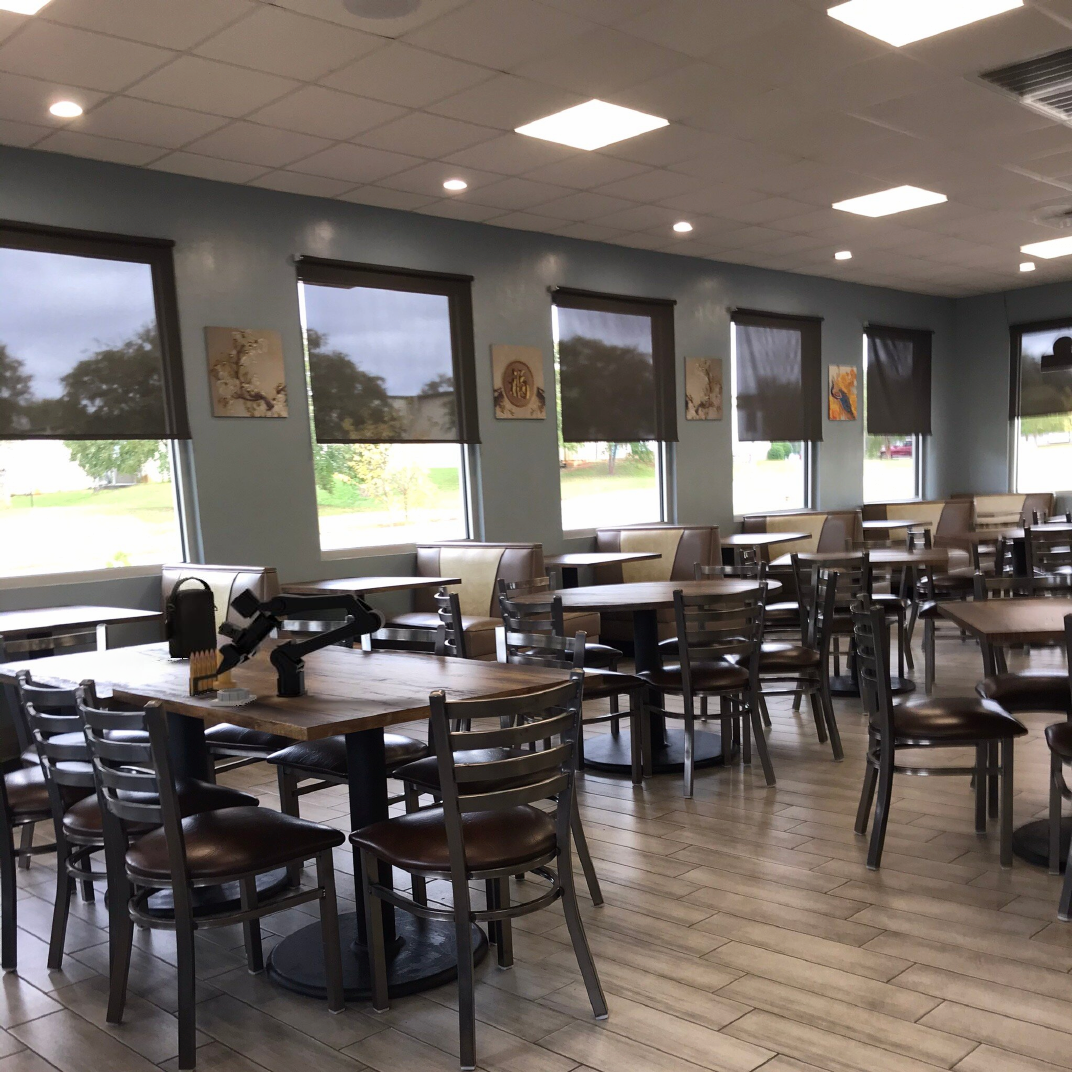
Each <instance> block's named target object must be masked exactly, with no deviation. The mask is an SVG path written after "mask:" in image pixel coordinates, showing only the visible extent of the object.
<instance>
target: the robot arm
mask: <svg viewBox="0 0 1072 1072" xmlns="http://www.w3.org/2000/svg"><path fill="white" fill-rule="evenodd" d="M229 606H230V607H231V608H232V609H233V610H234V611H235V612H236V613H237V614H238V615H240V617H242V618H243V619H244V620H247V619H248V618H249V620H252V619H253V620H252V621H251V622H250V623H249V624H248V625H247V626H245V627H242V625H241V626H240V625H239V624H235V623H233V622H230V621H228V620H224V621H222V622H221V624H220V625H219V626H218V631H217V634H218V635H219V636H224V637H227V638H229V639H232V640H230V642H229V643H228V642H227V643H225V644H223V645H222V646H220V648H218V649H219V652H220V653H221V654H222V655H223V656H224V658H223V660H222V662H221V664H220V665H219V667H218V669H217V671H216V674H217V675H220V674H222V673H224V672H226V671H228V670H230V669H231V670H232V669H233V668H236V667H238V666H240V665H242V664H244V663H246V662H248V661H250V660H251V658H250V656H251V657H252V658H254V657H256V656H257V655H258V654H259V653H260V651H261V648H260V645H261V644H263V643H264V642H265V641H266V639H267V638H268V636H269V635H270V634H271V633H272V632H273V631H274V630H275V628H276V629H277V630H278V631H282V630H283V631H284V630H285V619H279V618H282V617H285V616H289V615H293V614H296V613H301V612H306V611H317V610H318V611H320V610H333V609H335V610H337V609H345V610H346V611H348V612H349V613H350V615H351V616H352V617H353V618H354V620H353V621H351V622H349V623H346V624H344V625H341V626H339V627H336V628H334V629H330V630H329V631H326V632H324V633H321V634H318V635H316V636H313V637H311V638H308V639H306V640H302V641H297V637H293V638H291V639H289V640H288V641H282V642H280V643H278V644H277V645H275V647H276V648H274V649H272V650H271V652H270V655H269V661H270V664H271V665H272V666H273V667H275V670H276V672H277V678H276V690H277V693H276V697H300V696H302V695H305V694H307V693H308V690H306V684H305V683H306V682H305V680H306V679H305V670H304V668H305V665H306V661H305V660H304V659H303V657H305V656H306V655H309V654H311V653H315V652H317V651H319V650H321V649H324V648H327V647H330V646H332V645H334V644H337V643H340V642H342V641H344V640H348V639H349V638H352V637H358V636H359V637H360V636H365V635H371V634H374V633H377V632H378V631H380V630H382V629H383V627H384V626H385V624H386V617H385V615H384V613H383V612H382V611H381V610H379V609H374V608H373V607H372V606H370V605H369V604H368V603H366V602H365V601H364V600H362V599H361V598H360V597H359V596H357V594H356V593H353V592H348V593H339V594H324V595H311V596H309V595H308V596H306V595H304V596H303V595H297V594H289V593H280V594H278V595H275V596H272V598H271V599H269V600H268V599H265V600H262V599H260V597H258V595H256V594H255V593H254V591H253V590H252V589H251V588H249V587H247V588H245V589H244V590H243V591H242V592H241V593H239V595H238V596H235V598H234V599H233V600H232V601H231V602H230V603H229ZM231 642H232V643H231ZM306 692H307V693H306Z"/></svg>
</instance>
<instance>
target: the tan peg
mask: <svg viewBox="0 0 1072 1072" xmlns="http://www.w3.org/2000/svg"><path fill="white" fill-rule="evenodd" d="M219 649H220V648H217V669H218V667H219V665H220V664H221V662H222V660H223V658H224V656H223V655H222V654H221V653H220V652H219ZM232 674H233V673H232V669H230V670H228V671H226V672H224V673H222V674H220V675H218V681H217V682H214V683H213V689H214V690H223V689H229V688H239V687H238V681H237V680H235V679H233V677H232V676H233V675H232Z"/></svg>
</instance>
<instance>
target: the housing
mask: <svg viewBox="0 0 1072 1072" xmlns="http://www.w3.org/2000/svg"><path fill="white" fill-rule="evenodd" d="M216 694H217V697H216V698H215V699H213V700H210V701H209V702H210V703H209V705H210V707H240V706H239V705H242V706H244V705H246V704H245V703H247V704H249V703H251V702H250V701H252V700H254V699H256V700H257V695H256V694H250V688H248V687H237V688H229V689H223V690H219V691H216ZM254 701H255V700H254ZM248 702H249V703H248ZM252 702H253V701H252ZM236 705H237V706H236Z"/></svg>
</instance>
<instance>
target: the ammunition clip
mask: <svg viewBox="0 0 1072 1072" xmlns="http://www.w3.org/2000/svg"><path fill="white" fill-rule="evenodd" d="M217 649H218V647H217V648H216V650H215V653H214V652H213V649H211V651H210V655H209V653H208V650H206V653H205V656H204V653H203V651H201V654H200V657H199V653H198V652H196V656H195V658H194V654H193V652H192V653H191V657H190V659H189V662H190V665H189V677H188V681H189V683H188V684H189V685H188V689H189V694H188V695H190V697H196V696H195V695H198V696H201V695H200V694H202V695H205V694H204V693H207V692H211V693H213V692H212V691H215V692H217V690H214V689H213V683H214V682H217V681H218V675H217V674H216V671H217ZM207 694H208V693H207Z"/></svg>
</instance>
